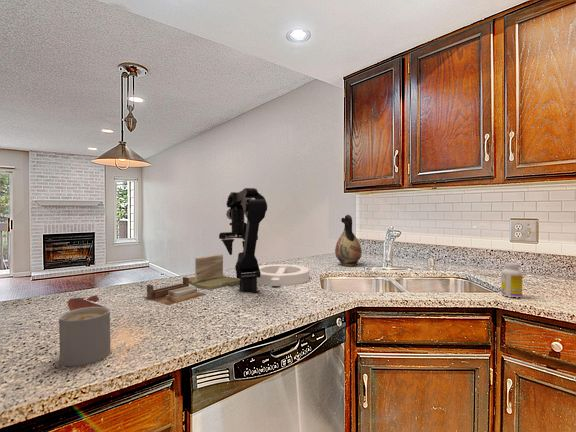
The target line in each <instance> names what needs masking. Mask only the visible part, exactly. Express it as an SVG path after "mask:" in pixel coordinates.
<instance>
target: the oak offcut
mask: <svg viewBox="0 0 576 432" xmlns="http://www.w3.org/2000/svg"><path fill="white" fill-rule="evenodd" d="M197 296H199V291H197V292H196V293H192V294H189V295H185V296H181V297H173V296H169V295H166V300H169V301H173V302H178V303H181V302H180V301H182V302H184V301H183V300H185V301H188V300H187V299H189V300H191V299H190V298H192V299H195V298H194V297H196V298H198V297H197ZM199 297H200V296H199Z"/></svg>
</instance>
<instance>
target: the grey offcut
mask: <svg viewBox="0 0 576 432" xmlns="http://www.w3.org/2000/svg"><path fill="white" fill-rule="evenodd" d="M196 292H198V288H197V287H195V286H193V287H192V286H190V285H189V286H187V287H183V288H179V289H175V290H171V291H168V295H169V296H173V297H181V296H185V295H189V294H192V293H196Z"/></svg>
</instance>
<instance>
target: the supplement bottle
mask: <svg viewBox="0 0 576 432" xmlns="http://www.w3.org/2000/svg"><path fill="white" fill-rule="evenodd" d="M504 267H505V268H504V269H502V270H501V287H500V288H501V291H500V293H501V296H503V295H505V296H510V297H521V298H522V297H523V272H522V270H520V269H519V268H520V263H516V262H504ZM505 296H504V297H505Z"/></svg>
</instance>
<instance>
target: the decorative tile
mask: <svg viewBox="0 0 576 432" xmlns="http://www.w3.org/2000/svg"><path fill="white" fill-rule="evenodd" d="M188 278H189V285H191V286H193V287H195V288H197V289H202V290H207V291H212V290H213V291H214V290H216V289H217V290H218V289H220V288H221V289H222V288H225V287H231V288H234V286H235V287H239V286H240V279H237V278H235V277H233V276H232V277H231V276H227V275H226V276H225V275H223V276H222V277H218V278H213V279H208V280H204V281H199V282H196V276H192V277H188Z"/></svg>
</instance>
